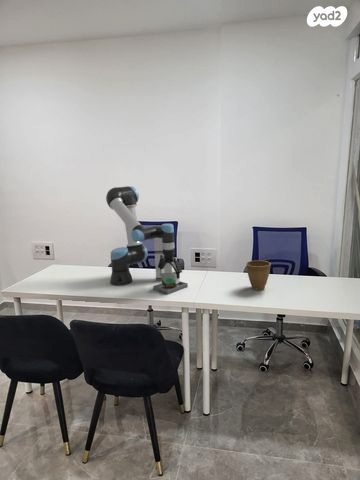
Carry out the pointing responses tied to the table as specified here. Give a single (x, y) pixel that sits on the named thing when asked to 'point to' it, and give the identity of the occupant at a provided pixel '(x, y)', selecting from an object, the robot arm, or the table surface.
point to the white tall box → (158, 252)
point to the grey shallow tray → (168, 291)
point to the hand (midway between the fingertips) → (170, 280)
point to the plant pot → (258, 273)
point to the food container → (168, 280)
